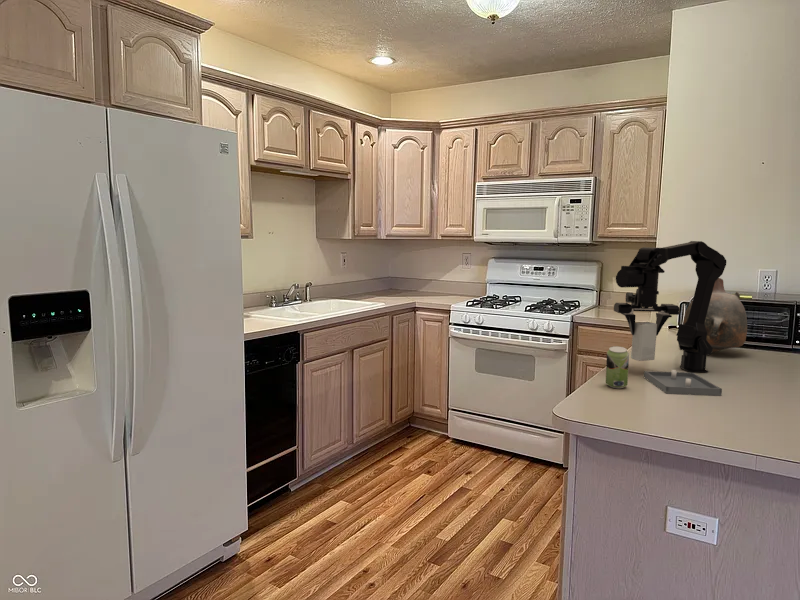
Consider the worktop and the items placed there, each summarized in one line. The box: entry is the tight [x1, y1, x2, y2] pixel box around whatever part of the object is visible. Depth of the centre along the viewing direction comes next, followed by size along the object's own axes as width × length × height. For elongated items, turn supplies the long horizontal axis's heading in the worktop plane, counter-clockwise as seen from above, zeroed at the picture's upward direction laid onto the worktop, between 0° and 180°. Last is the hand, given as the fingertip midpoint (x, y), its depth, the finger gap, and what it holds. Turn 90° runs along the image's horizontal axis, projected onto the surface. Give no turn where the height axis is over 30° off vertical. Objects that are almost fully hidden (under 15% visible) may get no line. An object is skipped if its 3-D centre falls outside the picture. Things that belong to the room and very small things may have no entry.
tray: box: [643, 369, 723, 397], centre depth 162 cm, size 15×18×4 cm
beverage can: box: [605, 346, 630, 389], centre depth 159 cm, size 6×7×12 cm
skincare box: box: [630, 321, 657, 362], centre depth 174 cm, size 6×4×12 cm
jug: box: [682, 277, 748, 354], centre depth 208 cm, size 24×21×30 cm
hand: (644, 335), depth 174 cm, fingers closed on skincare box, 7 cm apart
